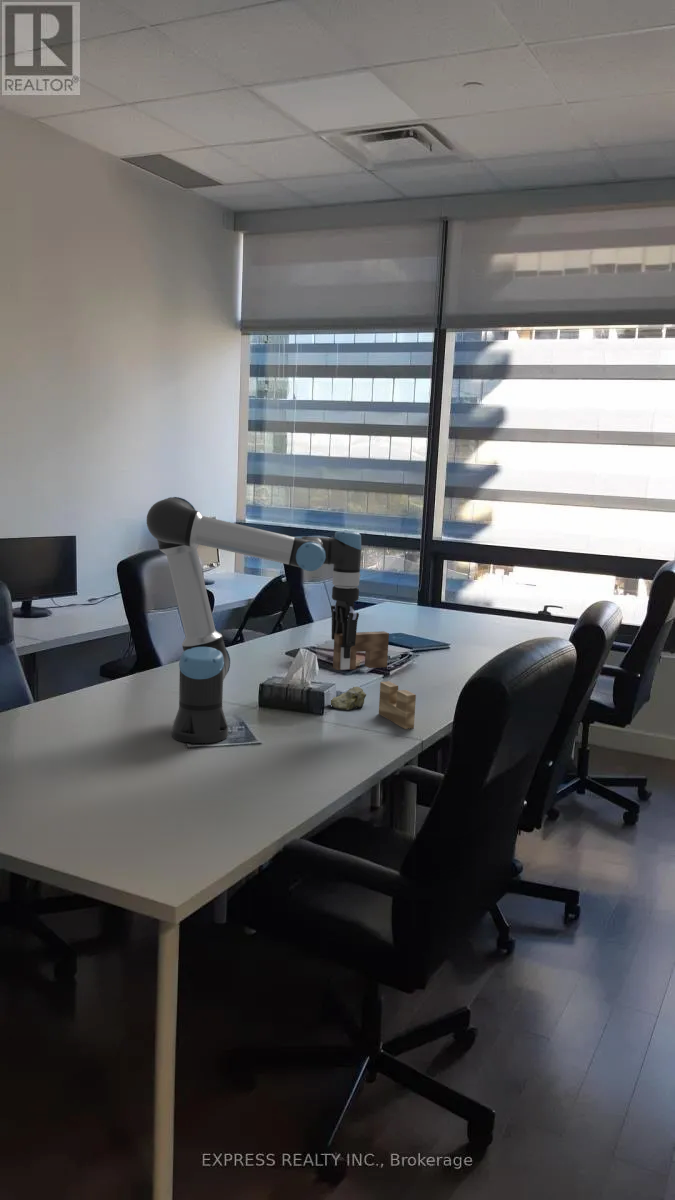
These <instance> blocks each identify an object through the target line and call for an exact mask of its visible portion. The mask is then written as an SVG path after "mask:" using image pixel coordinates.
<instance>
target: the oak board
mask: <svg viewBox="0 0 675 1200" xmlns="http://www.w3.org/2000/svg"><path fill="white" fill-rule="evenodd" d="M379 685H380V686H379V699H378V700H379V702H378V703H379V704H378V715H379V716H381V717H384V718H385V719H387V720H389V721H390V722H392V723H393V724H395V725H397V726H398V727H401V728H402V729H404V730H410V728H411V729H414V728H415V718H416V717H415V714H416V702H417V701H416V699H417V695H416V694H415V693H413V692H411V691H409V690H407V689H400V690H399V685H397V684H395V683H393V682H392V681H389V680H388V681H380V684H379ZM408 728H409V729H408Z"/></svg>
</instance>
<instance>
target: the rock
mask: <svg viewBox="0 0 675 1200" xmlns="http://www.w3.org/2000/svg"><path fill="white" fill-rule="evenodd" d="M366 697H367V693H365V692H364V690H363V688H361V687H359V686H353V687H351V688H349V689H348V690H347V691H346V692H344V693H340V694H339V695H338V696H334V697H333V699H332V700H331V705H332V707H331V708H334V709H335V710H339V711H351V710H355V709H358V708H363V706H364V704H365V699H366Z"/></svg>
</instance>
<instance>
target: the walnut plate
mask: <svg viewBox="0 0 675 1200" xmlns="http://www.w3.org/2000/svg"><path fill="white" fill-rule="evenodd" d="M389 637H390V633H389V632H387V631H385V630H382V631H359V632H357V631H356V641H355V646H352V647H351V651H350V669H344V670H356V669H357V668H356V667H357V664H356V663H357V653H360V652H363V653H365V655H364V667H366V668H368V669H378V668H379V669H380V668H388V659H389V658H388V653H389V641H390V638H389ZM340 645H343V636H342V633H335V635H334V640H333V653H332V654H333V656H332V657H333V658H332V669H334V670H337V671H342V670H341V669H340V656H341V647H340ZM344 670H343V671H344Z"/></svg>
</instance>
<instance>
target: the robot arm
mask: <svg viewBox="0 0 675 1200" xmlns="http://www.w3.org/2000/svg"><path fill="white" fill-rule="evenodd" d="M146 527H147V529H148V531H149V533H150V534H151V536H152V537H154V538H155V539H156V541H157V544H158V549H159V551H160V552H162V553H163V554H165V555H166V558H167V562H168V566H169V567H168V568H169V572H170V576H171V580H172V584H173V588H174V593H175V597H176V600H177V601H176V602H177V605H178V609H179V614H180V617H181V618H180V619H181V622H182V626H183V630H184V631H183V632H184V635H185V638H184V640H183V641H182V643H181V646H182V651H183V652H182V653H181V655H180V657H179V663H178V667H179V668H178V669H179V689H178V690H179V691H178V693H179V694H178V695H179V697H178V699H179V700H178V710H177V712H176V715H175V717H174V718H175V719H174V721H173V724H172V728H171V737H172V738H173V739H174V740H177V741H179V742H182V743H186V742H191V743H190V744H195V743H202V744H203V743H205V744H213V743H217V742H221V740H222V741H223V740H225V738H226V737H227V736H229V727H228V723H227V719H226V716H225V713H224V709H223V698H224V697H223V694H224V693H223V691H224V680H225V678H226V677H227V675H228V673H229V671H230V668H231V657H230V653H229V650H228V649H227V647H226V646H225V641H224V637H223V634H222V633H220V632H219V631H217V630H216V627H215V622H214V618H213V617H214V616H213V614H212V609H211V604H210V601H209V597H208V592H207V587H206V583H205V579H204V573H203V570H202V566H201V561H200V556H199V552H198V546H199V545H200V546H204V547H209V548H212V549H213V548H214V549H218V550H221V551H222V550H223V551H226V552H231V553H236V554H239V555H245V556H249V557H254V558H258V559H263V560H266V561H270V562H276V563H280V564H284V565H288V566H293V567H297V568H300V569H302V570H304V571H307V572H314V571H317V570H319V569H321V567H322V566H323V565H328V566H329V565H332V566H333V570H332V585H334V586H332V590H331V591H332V592H331V593H332V594H331V599H332V600H333V601H335V605H330V611H331V640H332V641H334V635H335V633H342V636H343V645H340V647H341V656H340V669H341V670H340V671H344V669H348V670H351V669H350V651H351V647H352V646H355V641H356V632H357V631H358V630H357V629H358V628H357V627H358V620H359V617H360V614H359V612H356V611H355V602H357V601H358V600H359V594H360V588H359V586H360V578H361V573H360V572H361V560H362V557H361V556H362V535H361V533H360V532H358V531H355V530H336V531H335V533H334V537H318V536H307V535H301V536H290V535H287V534H283V533H278V532H273V531H269V530H265V529H260V528H256V527H252V526H248V525H245V524H239V523H235V522H232V521H231V522H230V521H226V520H222V519H217V518H213V517H208V516H203V514H202V513H201V512H200V510H196V508H195V507H194V505H193V504H192V503H191V502H190V501H189V500H187V499H185V498H183V497H179V496H178V497H177V496H173V497H172V496H171V497H168V498H164V499H161V500H159V501H157V502H155V503H154V504H152V506H151V507H150V509H149V510H148V511H147V515H146ZM227 738H228V737H227ZM227 738H226V739H227ZM202 744H201V745H202ZM203 745H204V744H203Z"/></svg>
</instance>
